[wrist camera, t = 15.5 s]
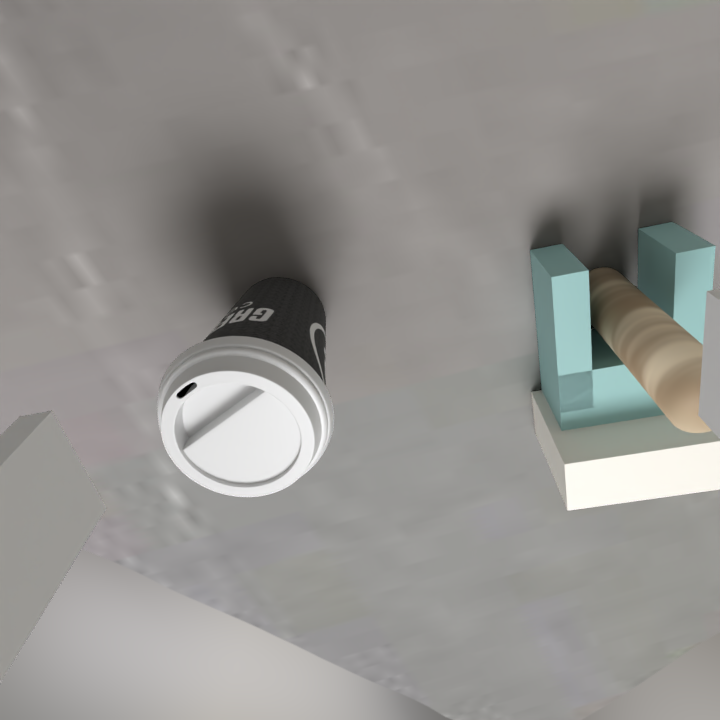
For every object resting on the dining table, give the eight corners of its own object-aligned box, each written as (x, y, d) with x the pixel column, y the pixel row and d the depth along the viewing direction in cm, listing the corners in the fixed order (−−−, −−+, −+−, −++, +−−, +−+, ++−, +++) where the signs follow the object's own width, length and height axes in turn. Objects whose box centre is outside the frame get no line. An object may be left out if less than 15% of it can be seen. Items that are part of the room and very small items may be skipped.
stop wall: (531, 391, 44) (564, 464, 36) (678, 367, 43) (745, 437, 35) (535, 432, 46) (567, 510, 38) (676, 410, 45) (740, 486, 37)
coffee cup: (323, 240, 39) (294, 333, 26) (361, 358, 43) (354, 489, 30) (197, 276, 41) (109, 381, 28) (246, 386, 45) (191, 523, 32)
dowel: (572, 273, 40) (666, 376, 26) (625, 262, 39) (748, 361, 26) (575, 319, 41) (666, 438, 28) (626, 309, 41) (743, 426, 28)
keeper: (529, 250, 39) (551, 277, 34) (672, 221, 38) (715, 245, 33) (541, 390, 44) (561, 430, 39) (667, 369, 43) (703, 408, 38)
